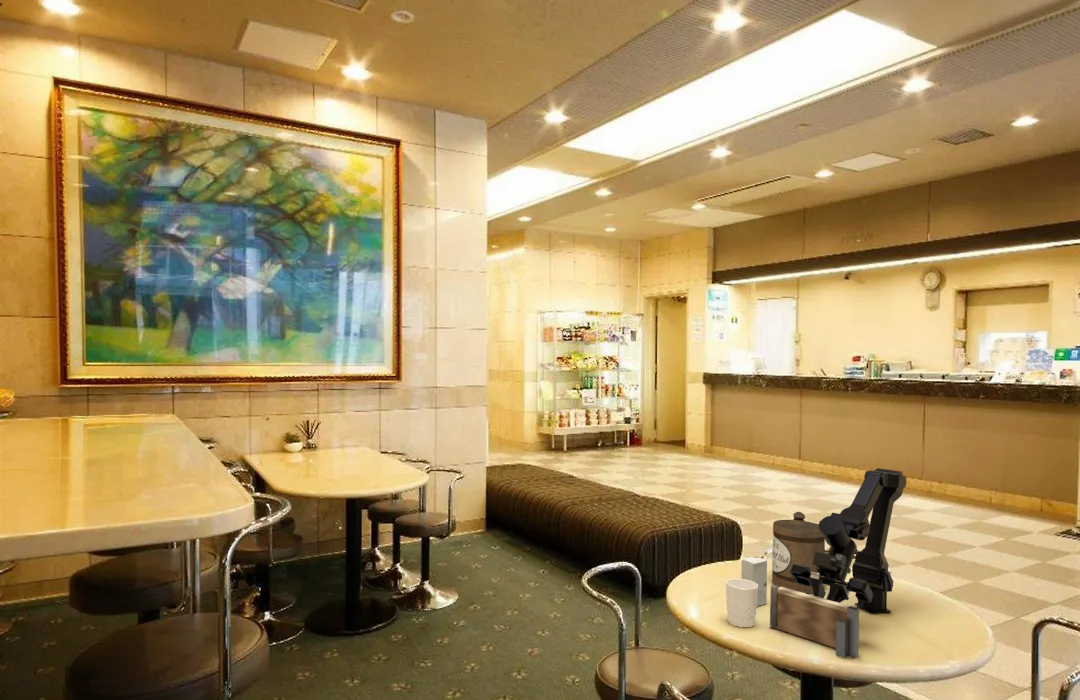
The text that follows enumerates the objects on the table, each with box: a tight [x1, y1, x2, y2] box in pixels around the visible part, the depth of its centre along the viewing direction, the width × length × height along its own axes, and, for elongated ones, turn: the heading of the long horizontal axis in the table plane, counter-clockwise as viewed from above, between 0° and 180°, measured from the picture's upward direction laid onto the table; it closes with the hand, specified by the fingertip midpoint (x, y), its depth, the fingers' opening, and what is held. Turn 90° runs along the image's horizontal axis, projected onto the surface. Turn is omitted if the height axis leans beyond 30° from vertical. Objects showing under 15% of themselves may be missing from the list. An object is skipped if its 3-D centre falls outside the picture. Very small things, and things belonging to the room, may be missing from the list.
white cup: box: [725, 578, 758, 629], centre depth 169 cm, size 8×8×10 cm
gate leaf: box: [769, 584, 850, 649], centre depth 160 cm, size 19×2×10 cm, turn 44°
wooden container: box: [771, 511, 826, 595], centre depth 198 cm, size 15×15×22 cm
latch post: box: [835, 605, 860, 659], centre depth 151 cm, size 4×4×11 cm
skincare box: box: [740, 556, 768, 607], centre depth 183 cm, size 6×4×12 cm
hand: (818, 612), depth 159 cm, fingers closed, pressing on gate leaf
